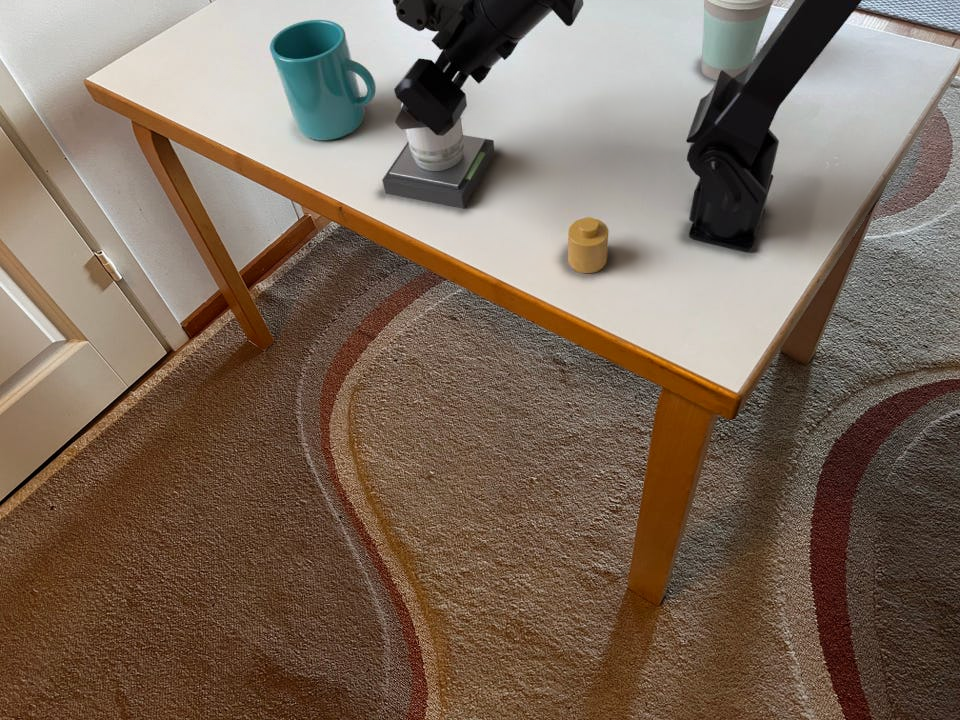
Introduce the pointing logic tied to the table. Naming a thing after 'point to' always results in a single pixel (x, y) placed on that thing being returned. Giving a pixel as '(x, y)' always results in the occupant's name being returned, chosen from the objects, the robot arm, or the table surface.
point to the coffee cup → (731, 34)
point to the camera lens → (436, 147)
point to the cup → (321, 79)
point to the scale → (441, 175)
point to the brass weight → (587, 245)
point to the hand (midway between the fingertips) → (416, 99)
